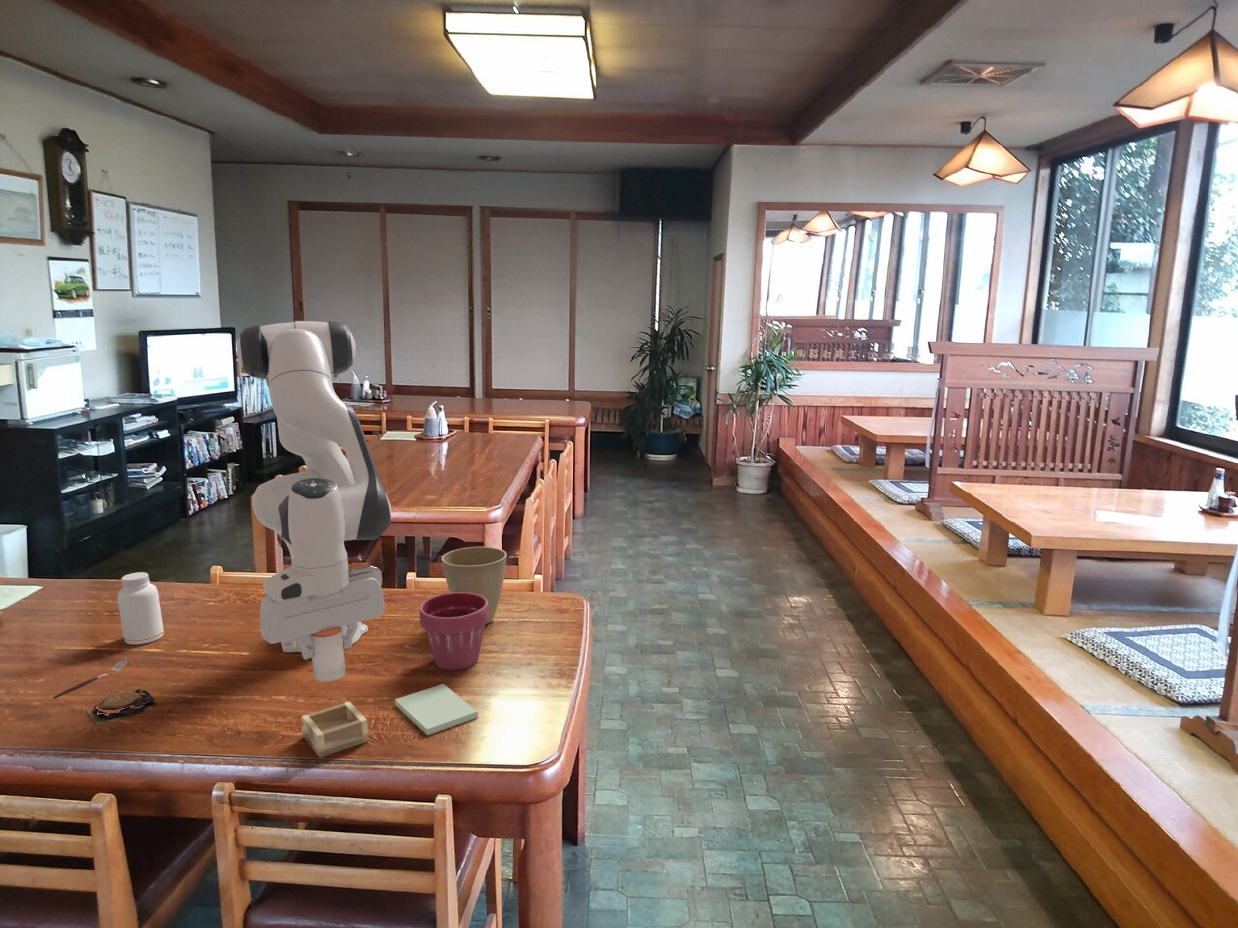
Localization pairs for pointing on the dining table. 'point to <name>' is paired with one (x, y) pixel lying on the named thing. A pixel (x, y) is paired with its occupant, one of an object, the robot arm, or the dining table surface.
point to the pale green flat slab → (436, 709)
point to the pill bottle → (139, 609)
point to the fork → (91, 679)
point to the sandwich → (121, 705)
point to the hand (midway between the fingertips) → (327, 652)
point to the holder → (335, 729)
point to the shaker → (328, 654)
